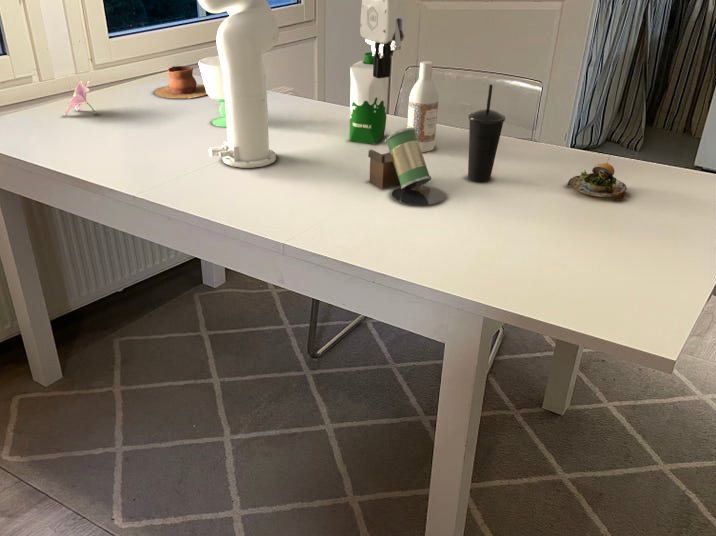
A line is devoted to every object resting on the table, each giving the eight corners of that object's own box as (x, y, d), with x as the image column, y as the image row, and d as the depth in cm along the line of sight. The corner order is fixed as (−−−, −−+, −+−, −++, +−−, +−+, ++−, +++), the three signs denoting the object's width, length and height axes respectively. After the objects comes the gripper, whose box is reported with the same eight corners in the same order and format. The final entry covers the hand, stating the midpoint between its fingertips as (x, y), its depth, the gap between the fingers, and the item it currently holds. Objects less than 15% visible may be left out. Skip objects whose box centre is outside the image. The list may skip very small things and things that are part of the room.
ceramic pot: (146, 97, 216) (142, 73, 212) (165, 83, 231) (163, 60, 227) (202, 100, 214) (200, 75, 210) (219, 86, 228) (217, 62, 224)
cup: (264, 120, 196) (261, 59, 187) (233, 132, 187) (228, 68, 178) (225, 112, 202) (220, 53, 193) (193, 124, 193) (187, 62, 184)
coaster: (412, 210, 143) (412, 208, 143) (381, 193, 151) (381, 191, 151) (455, 199, 148) (455, 198, 147) (422, 183, 155) (422, 182, 155)
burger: (555, 186, 154) (562, 152, 149) (598, 179, 157) (606, 145, 153) (593, 206, 144) (601, 170, 140) (638, 197, 148) (647, 162, 144)
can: (410, 200, 146) (415, 139, 139) (377, 183, 155) (380, 124, 148) (435, 194, 149) (441, 134, 142) (402, 177, 157) (405, 119, 150)
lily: (99, 109, 209) (77, 80, 204) (117, 100, 200) (95, 69, 195) (70, 132, 203) (47, 102, 198) (87, 123, 194) (64, 91, 190)
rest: (380, 189, 152) (381, 156, 148) (367, 182, 156) (368, 149, 152) (413, 181, 156) (416, 149, 152) (400, 175, 160) (402, 143, 156)
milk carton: (388, 135, 184) (393, 53, 173) (377, 146, 177) (381, 60, 166) (356, 132, 187) (359, 50, 175) (344, 142, 180) (346, 57, 168)
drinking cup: (498, 175, 160) (512, 82, 148) (493, 186, 154) (507, 90, 142) (464, 171, 162) (475, 79, 150) (458, 182, 156) (469, 87, 144)
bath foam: (418, 154, 172) (424, 67, 160) (400, 147, 176) (405, 61, 165) (439, 149, 175) (447, 63, 163) (421, 142, 179) (428, 58, 168)
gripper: (348, -25, 141) (346, 72, 152) (392, -18, 131) (387, 86, 141) (379, -28, 145) (375, 68, 155) (424, -20, 134) (417, 82, 144)
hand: (381, 76), depth 148 cm, fingers closed
